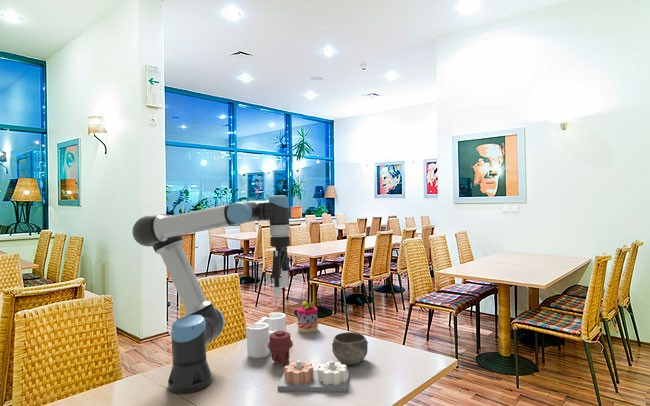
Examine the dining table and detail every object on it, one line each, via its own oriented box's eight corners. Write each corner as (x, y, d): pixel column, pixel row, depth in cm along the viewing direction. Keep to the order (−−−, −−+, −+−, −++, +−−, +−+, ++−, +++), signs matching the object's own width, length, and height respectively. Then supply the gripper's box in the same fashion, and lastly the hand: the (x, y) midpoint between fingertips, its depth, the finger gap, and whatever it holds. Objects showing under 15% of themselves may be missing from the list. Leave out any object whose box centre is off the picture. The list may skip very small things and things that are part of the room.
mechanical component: (296, 358, 167) (289, 368, 157) (273, 357, 169) (264, 367, 159) (295, 328, 166) (288, 336, 157) (272, 327, 168) (263, 335, 159)
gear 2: (322, 387, 137) (322, 375, 137) (315, 374, 147) (314, 363, 147) (351, 382, 140) (350, 371, 140) (341, 370, 150) (341, 359, 150)
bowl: (329, 368, 156) (328, 342, 156) (337, 353, 171) (336, 329, 171) (365, 370, 152) (364, 344, 152) (370, 355, 167) (369, 331, 167)
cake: (294, 332, 199) (293, 302, 198) (302, 326, 209) (301, 297, 208) (314, 334, 195) (313, 303, 195) (321, 327, 205) (320, 298, 205)
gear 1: (282, 384, 140) (282, 372, 140) (288, 371, 150) (287, 361, 150) (311, 384, 139) (311, 373, 139) (315, 372, 149) (314, 361, 149)
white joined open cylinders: (264, 359, 167) (264, 330, 167) (244, 356, 170) (243, 328, 170) (290, 338, 190) (289, 313, 190) (271, 336, 194) (271, 311, 193)
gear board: (277, 390, 139) (277, 368, 139) (285, 374, 152) (284, 354, 152) (347, 392, 136) (346, 369, 136) (349, 375, 149) (348, 355, 149)
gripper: (282, 239, 141) (284, 299, 141) (295, 232, 166) (297, 284, 166) (261, 239, 142) (263, 299, 142) (277, 233, 167) (279, 284, 167)
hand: (281, 291), depth 154 cm, fingers open, 13 cm apart
